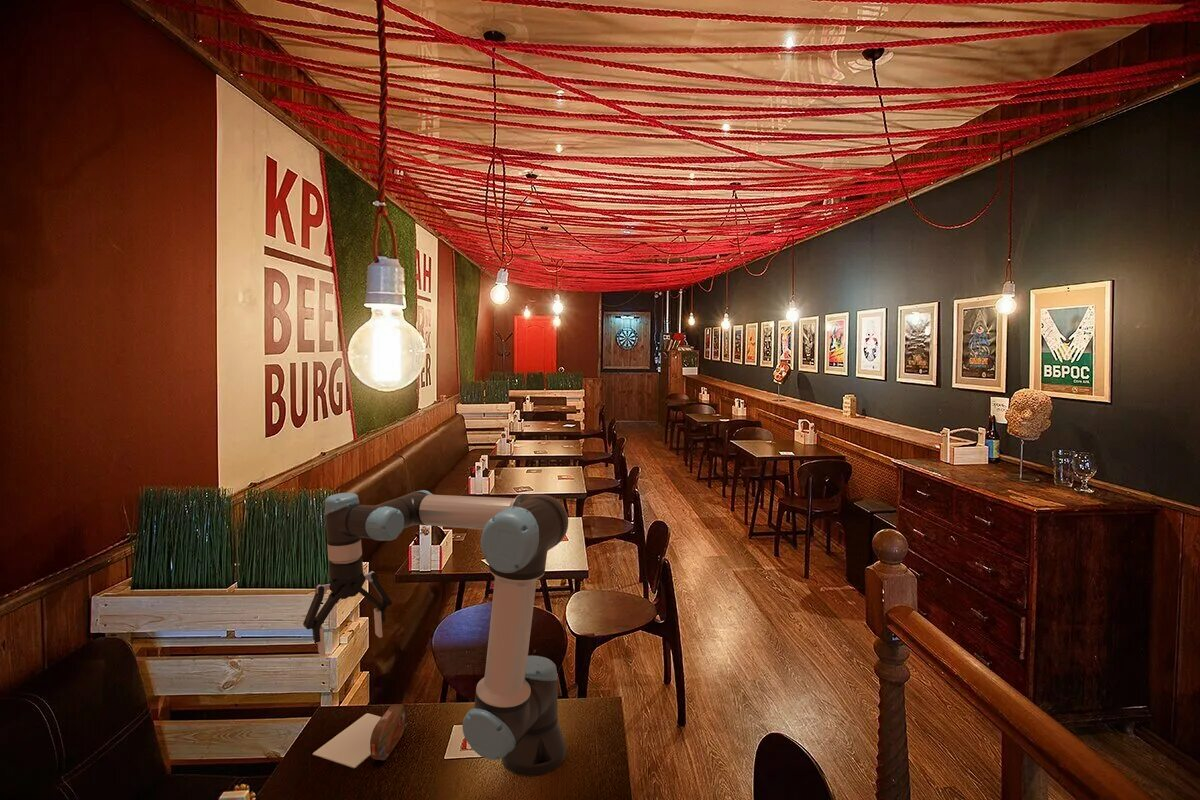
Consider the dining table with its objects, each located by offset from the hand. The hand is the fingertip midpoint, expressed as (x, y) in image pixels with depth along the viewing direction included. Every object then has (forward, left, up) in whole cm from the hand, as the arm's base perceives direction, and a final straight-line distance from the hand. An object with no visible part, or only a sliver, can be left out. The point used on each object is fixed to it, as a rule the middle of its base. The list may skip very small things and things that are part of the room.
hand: (351, 644), depth 157 cm
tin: (-8, -2, -25) cm, 27 cm away
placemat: (0, -2, -25) cm, 25 cm away
